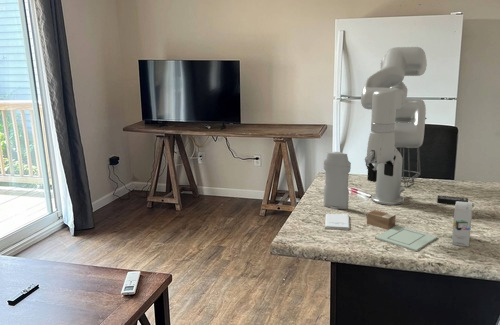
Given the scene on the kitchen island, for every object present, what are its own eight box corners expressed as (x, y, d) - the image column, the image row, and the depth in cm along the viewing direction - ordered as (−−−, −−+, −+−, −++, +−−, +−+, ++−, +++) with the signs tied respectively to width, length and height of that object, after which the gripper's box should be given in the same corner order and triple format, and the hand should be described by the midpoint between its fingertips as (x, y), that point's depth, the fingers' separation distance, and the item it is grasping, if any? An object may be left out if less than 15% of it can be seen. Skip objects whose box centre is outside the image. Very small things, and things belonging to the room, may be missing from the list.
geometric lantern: (408, 191, 192) (411, 109, 184) (376, 184, 203) (377, 107, 195) (426, 183, 202) (429, 105, 194) (394, 177, 213) (396, 104, 205)
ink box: (452, 234, 145) (455, 200, 143) (469, 237, 143) (472, 202, 140) (451, 244, 138) (454, 208, 135) (469, 247, 136) (472, 210, 133)
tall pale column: (320, 206, 174) (321, 151, 169) (324, 203, 178) (325, 149, 172) (347, 210, 169) (349, 154, 164) (350, 207, 173) (352, 151, 167)
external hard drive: (348, 218, 163) (349, 231, 151) (325, 217, 164) (324, 230, 153) (348, 214, 163) (349, 227, 151) (325, 213, 164) (324, 225, 152)
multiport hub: (437, 200, 180) (437, 195, 179) (467, 203, 176) (467, 198, 175) (436, 204, 176) (437, 198, 175) (467, 207, 172) (468, 201, 171)
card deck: (374, 220, 160) (374, 209, 159) (394, 225, 154) (395, 214, 153) (366, 224, 156) (367, 212, 155) (387, 230, 151) (388, 218, 150)
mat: (397, 226, 153) (397, 225, 153) (437, 238, 143) (437, 236, 143) (374, 238, 144) (375, 236, 143) (416, 251, 134) (416, 249, 133)
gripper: (387, 123, 155) (385, 171, 159) (357, 130, 144) (355, 181, 148) (407, 126, 150) (404, 175, 154) (377, 132, 139) (375, 185, 143)
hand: (380, 178), depth 151 cm, fingers open, 9 cm apart
